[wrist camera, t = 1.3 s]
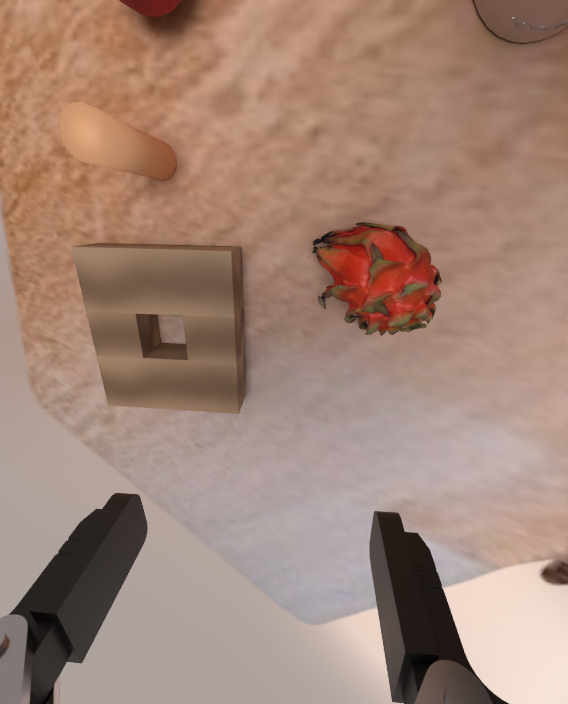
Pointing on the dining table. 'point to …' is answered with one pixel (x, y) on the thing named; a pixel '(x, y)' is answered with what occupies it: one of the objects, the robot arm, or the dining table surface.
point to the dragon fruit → (380, 277)
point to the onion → (152, 6)
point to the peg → (113, 143)
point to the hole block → (143, 330)
